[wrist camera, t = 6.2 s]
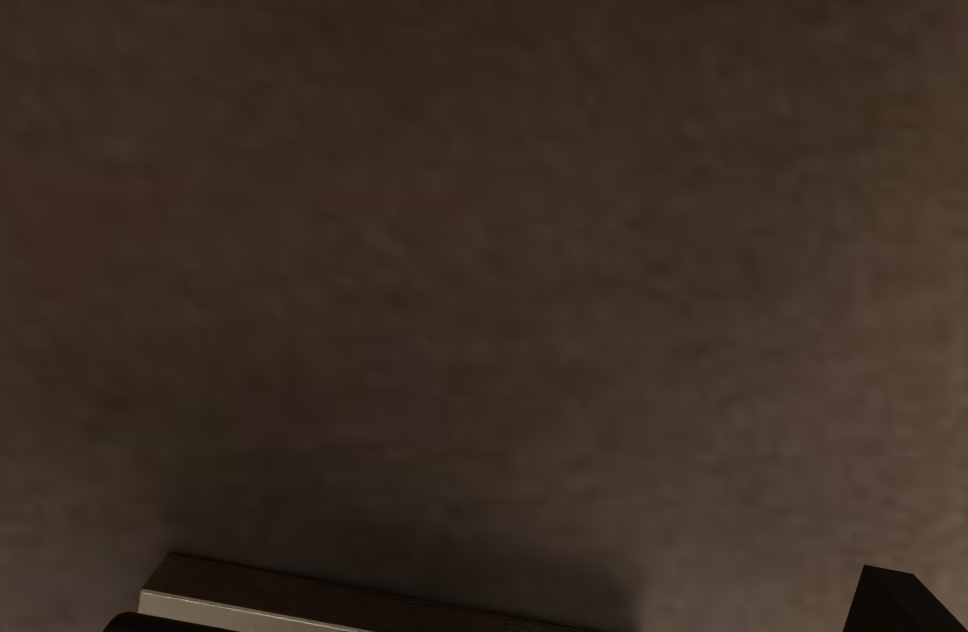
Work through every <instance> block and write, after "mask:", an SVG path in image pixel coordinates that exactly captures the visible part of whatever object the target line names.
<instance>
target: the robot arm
mask: <svg viewBox="0 0 968 632" xmlns="http://www.w3.org/2000/svg"><path fill="white" fill-rule="evenodd" d="M843 632H968V631H967V630H966V629H965V628H964V627H963V625H962V624H961V623H960V622H959V621H958V620H957V619H956V618H955V617H954V616H953V615H952V614H951V613H950V612H949V611H948V610H947V609H946V608H945V607H944V606H943V605H942V604H941V603H940V601H939V600H938V599H937V598H936V597H935V596H934V595H933V594H932V593H931V592H930V591H929V590H928V589H927V588H926V587H925V586H924V585H923V584H922V583H921V582H920V581H919V580H918V579H917V578H916V576H915V575H914V574H910V573H905V572H900V571H894V570H889V569H884V568H879V567H874V566H868V565H864V567H863V570H862V573H861V576H860V580H859V583H858V586H857V589H856V592H855V595H854V598H853V601H852V604H851V607H850V611H849V614H848V617H847V620H846V623H845V626H844V629H843Z"/></svg>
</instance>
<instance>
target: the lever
mask: <svg viewBox="0 0 968 632" xmlns="http://www.w3.org/2000/svg"><path fill="white" fill-rule="evenodd" d="M103 632H239V631H234V630H229V629H223V628H218V627H212V626H207V625H201V624H196V623H190V622H185V621H180V620H174V619H169V618H163V617H158V616H152V615H147V614H141V613H136V612H131V611H129V612H124V613H120V614H118V615H116V616H115V617H114V618H113V619H112V620H111V621H110V622H109V624H108V625H107V626H106V628H105V629H104V631H103Z"/></svg>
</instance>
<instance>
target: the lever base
mask: <svg viewBox="0 0 968 632" xmlns="http://www.w3.org/2000/svg"><path fill="white" fill-rule="evenodd" d="M137 613H141V614H147V615H152V616H158V617H163V618H169V619H174V620H180V621H185V622H190V623H196V624H201V625H207V626H212V627H218V628H223V629H229V630H234V631H239V632H589V631H583V630H578V629H573V628H567V627H562V626H557V625H551V624H546V623H541V622H535V621H530V620H524V619H519V618H514V617H508V616H503V615H498V614H492V613H487V612H482V611H476V610H471V609H465V608H460V607H455V606H449V605H444V604H439V603H433V602H428V601H423V600H417V599H412V598H407V597H401V596H396V595H390V594H385V593H380V592H374V591H369V590H364V589H358V588H353V587H348V586H342V585H337V584H331V583H326V582H321V581H315V580H310V579H305V578H299V577H294V576H289V575H283V574H278V573H273V572H267V571H262V570H256V569H251V568H246V567H240V566H235V565H230V564H224V563H219V562H214V561H208V560H203V559H197V558H192V557H187V556H181V555H176V554H167V555H166V556H165V558H164V559H163V560H162V562H161V563H160V564H159V566H158V567H157V568H156V570H155V571H154V572H153V574H152V575H151V576H150V577H149V579H148V580H147V581H146V583H145V584H144V585H143V587H142V588H141V590H140V593H139V601H138V608H137Z"/></svg>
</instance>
